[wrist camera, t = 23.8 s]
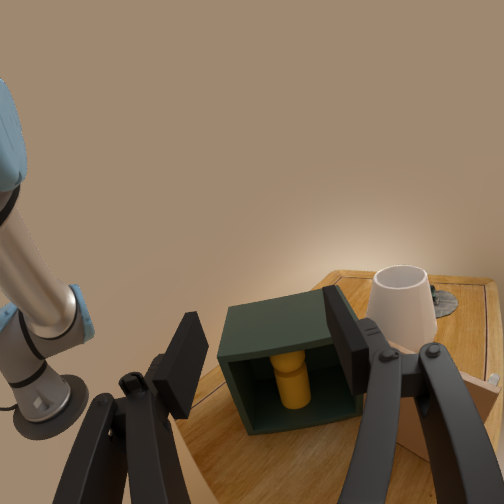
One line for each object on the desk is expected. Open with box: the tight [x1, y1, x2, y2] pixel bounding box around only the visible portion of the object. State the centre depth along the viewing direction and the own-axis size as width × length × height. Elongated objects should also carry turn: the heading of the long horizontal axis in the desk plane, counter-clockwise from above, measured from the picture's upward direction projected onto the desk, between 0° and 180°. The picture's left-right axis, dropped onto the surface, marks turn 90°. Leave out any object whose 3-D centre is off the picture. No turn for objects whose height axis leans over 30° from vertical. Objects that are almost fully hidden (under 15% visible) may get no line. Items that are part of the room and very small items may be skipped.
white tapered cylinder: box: [365, 265, 437, 353], centre depth 40 cm, size 13×13×14 cm
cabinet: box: [217, 285, 364, 435], centre depth 36 cm, size 12×16×15 cm
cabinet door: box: [363, 340, 501, 462], centre depth 23 cm, size 6×16×15 cm, turn 28°
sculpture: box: [430, 285, 458, 318], centre depth 51 cm, size 12×9×8 cm
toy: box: [270, 350, 311, 409], centre depth 36 cm, size 5×5×11 cm
